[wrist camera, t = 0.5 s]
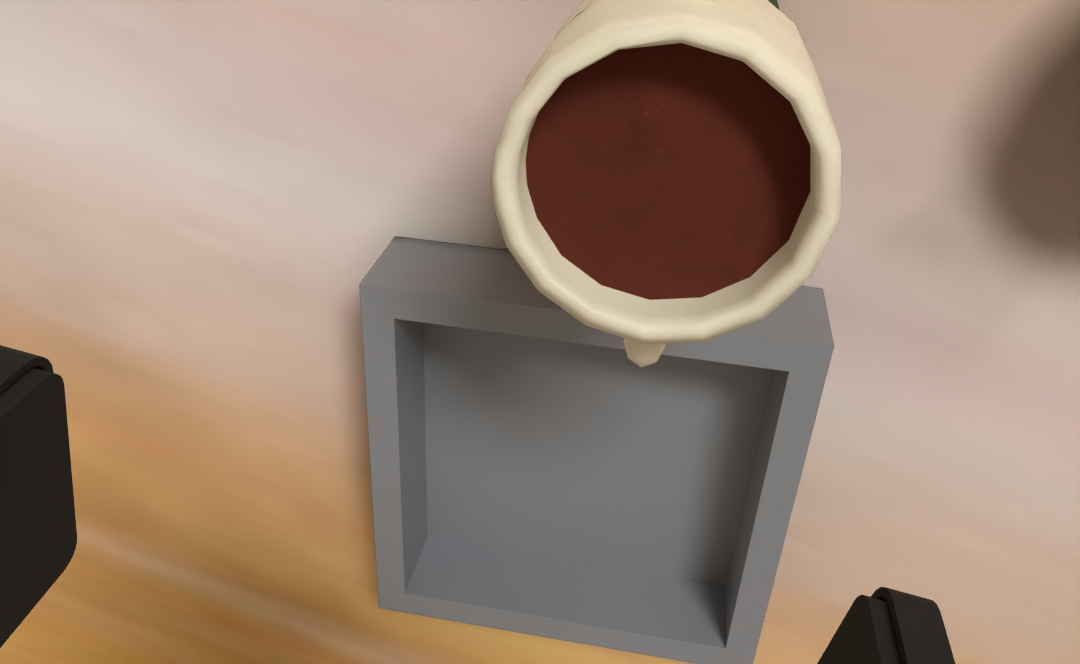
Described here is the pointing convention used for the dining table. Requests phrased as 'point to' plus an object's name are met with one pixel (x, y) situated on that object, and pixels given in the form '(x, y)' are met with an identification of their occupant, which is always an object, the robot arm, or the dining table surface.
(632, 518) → the grey tray
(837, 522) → the dining table surface
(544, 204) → the character mug
